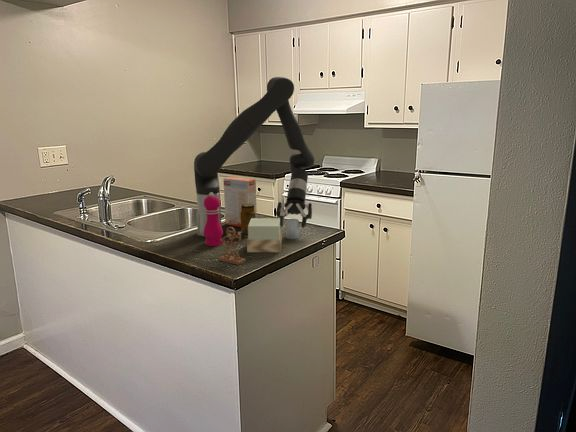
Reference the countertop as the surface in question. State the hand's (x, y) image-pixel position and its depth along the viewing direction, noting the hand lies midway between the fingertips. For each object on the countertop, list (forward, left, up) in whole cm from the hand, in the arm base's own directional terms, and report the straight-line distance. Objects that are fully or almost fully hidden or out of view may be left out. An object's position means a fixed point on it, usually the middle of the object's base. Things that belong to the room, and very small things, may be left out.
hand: (292, 226), depth 171 cm
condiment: (-18, +6, -5) cm, 20 cm away
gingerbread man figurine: (-20, -26, -5) cm, 33 cm away
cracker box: (-23, +19, -5) cm, 30 cm away
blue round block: (0, +1, -5) cm, 5 cm away
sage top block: (-10, -11, 0) cm, 15 cm away
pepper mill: (-30, -7, -5) cm, 31 cm away
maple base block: (-10, -11, -5) cm, 16 cm away
